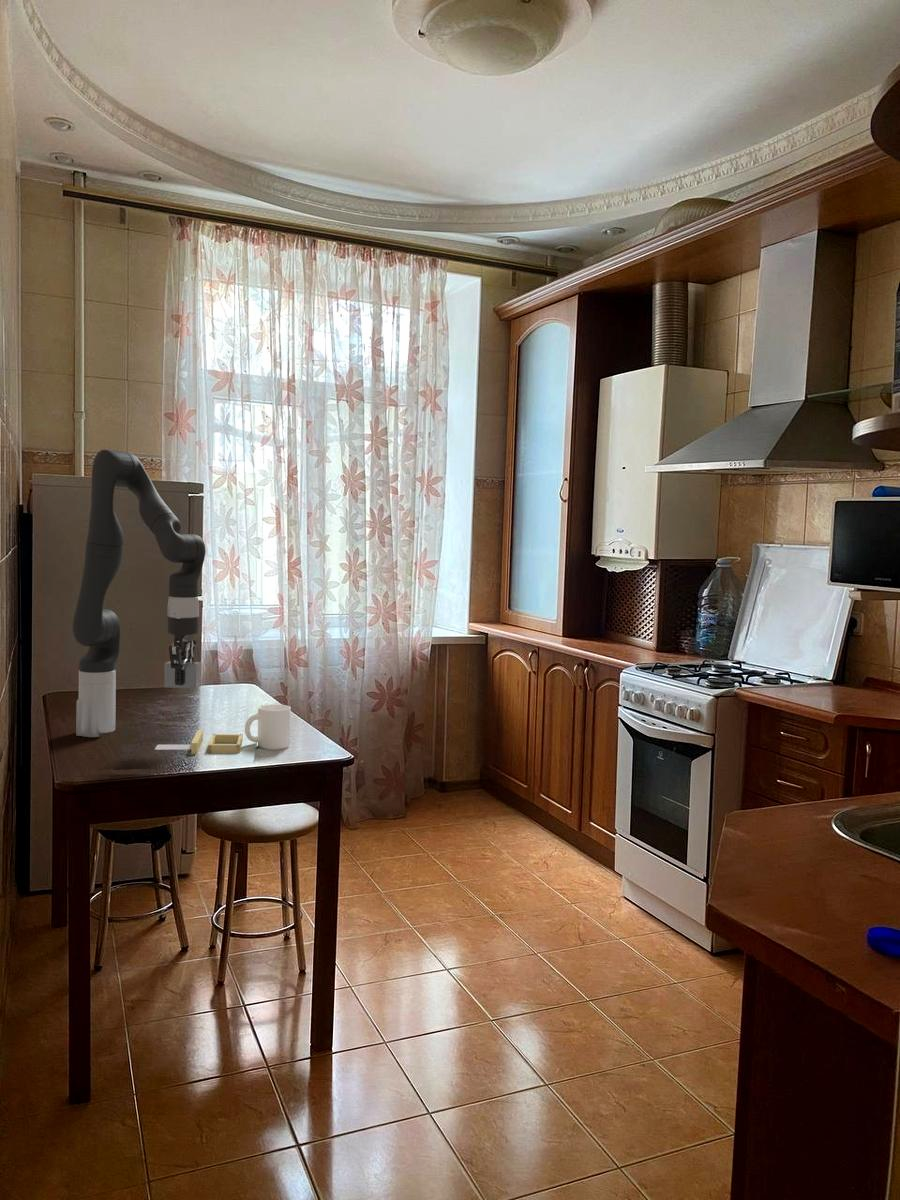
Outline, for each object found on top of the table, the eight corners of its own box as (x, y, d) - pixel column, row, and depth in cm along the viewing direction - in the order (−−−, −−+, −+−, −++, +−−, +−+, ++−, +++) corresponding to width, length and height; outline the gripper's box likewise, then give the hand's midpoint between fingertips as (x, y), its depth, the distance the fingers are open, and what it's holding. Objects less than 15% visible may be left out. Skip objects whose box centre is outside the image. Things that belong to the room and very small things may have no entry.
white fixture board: (151, 758, 226) (151, 743, 226) (160, 744, 240) (160, 730, 240) (244, 758, 230) (244, 743, 230) (247, 744, 244) (247, 730, 243)
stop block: (164, 687, 231) (164, 663, 230) (169, 684, 235) (170, 660, 234) (196, 688, 230) (196, 664, 230) (201, 685, 234) (201, 662, 234)
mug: (249, 753, 235) (250, 712, 234) (239, 745, 242) (239, 706, 241) (294, 748, 241) (295, 709, 240) (283, 741, 248) (283, 703, 247)
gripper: (178, 611, 238) (177, 678, 240) (158, 617, 224) (157, 687, 226) (207, 612, 238) (206, 679, 239) (188, 618, 224) (188, 688, 225)
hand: (182, 682), depth 232 cm, fingers closed on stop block, 4 cm apart
